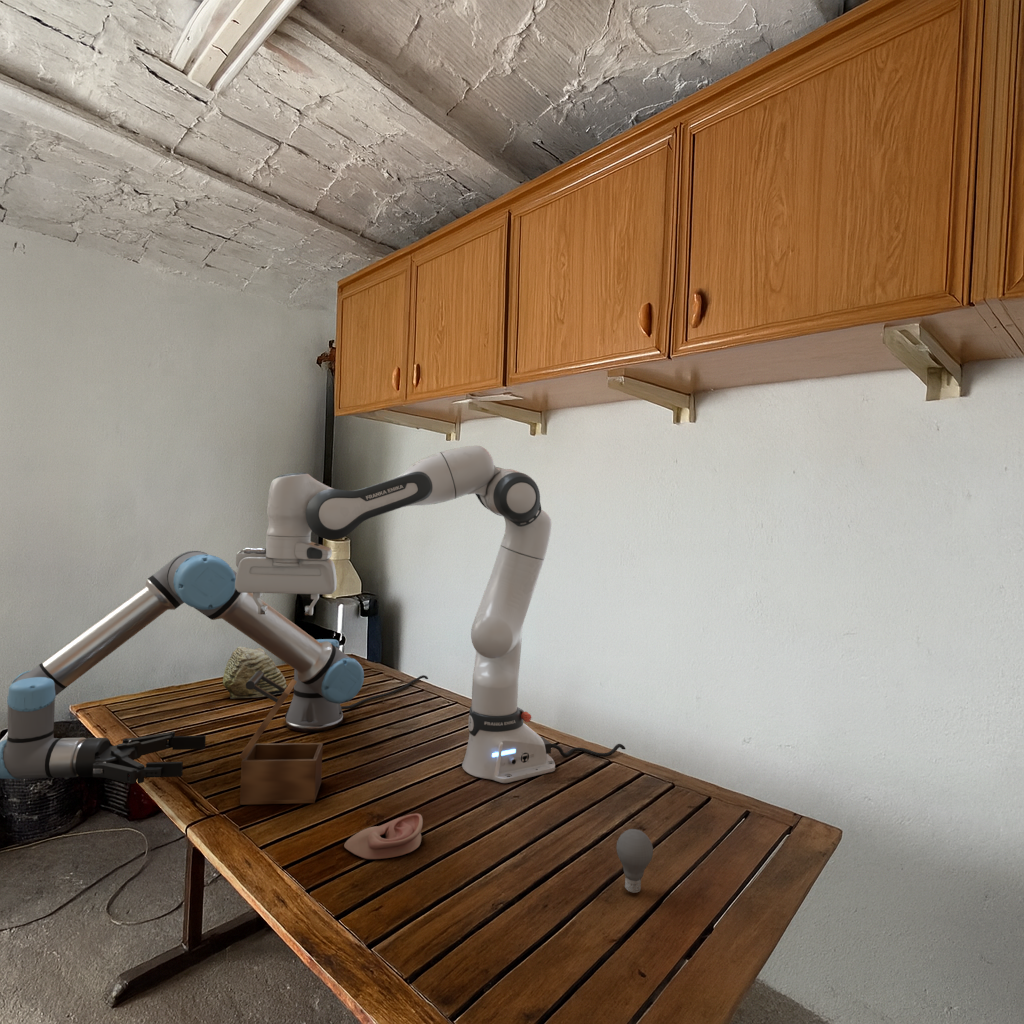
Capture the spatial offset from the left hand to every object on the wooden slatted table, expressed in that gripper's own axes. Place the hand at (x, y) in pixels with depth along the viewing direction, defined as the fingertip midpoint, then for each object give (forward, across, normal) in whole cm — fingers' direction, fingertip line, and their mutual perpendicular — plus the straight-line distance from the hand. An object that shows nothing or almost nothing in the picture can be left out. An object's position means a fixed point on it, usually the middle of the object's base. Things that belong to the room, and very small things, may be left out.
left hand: (194, 755), depth 132 cm
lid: (+15, 0, +7) cm, 17 cm away
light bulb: (+82, +39, -9) cm, 91 cm away
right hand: (+17, 0, +30) cm, 34 cm away
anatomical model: (+40, +21, -9) cm, 46 cm away
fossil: (-4, -68, -9) cm, 68 cm away
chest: (+18, 0, -9) cm, 20 cm away
